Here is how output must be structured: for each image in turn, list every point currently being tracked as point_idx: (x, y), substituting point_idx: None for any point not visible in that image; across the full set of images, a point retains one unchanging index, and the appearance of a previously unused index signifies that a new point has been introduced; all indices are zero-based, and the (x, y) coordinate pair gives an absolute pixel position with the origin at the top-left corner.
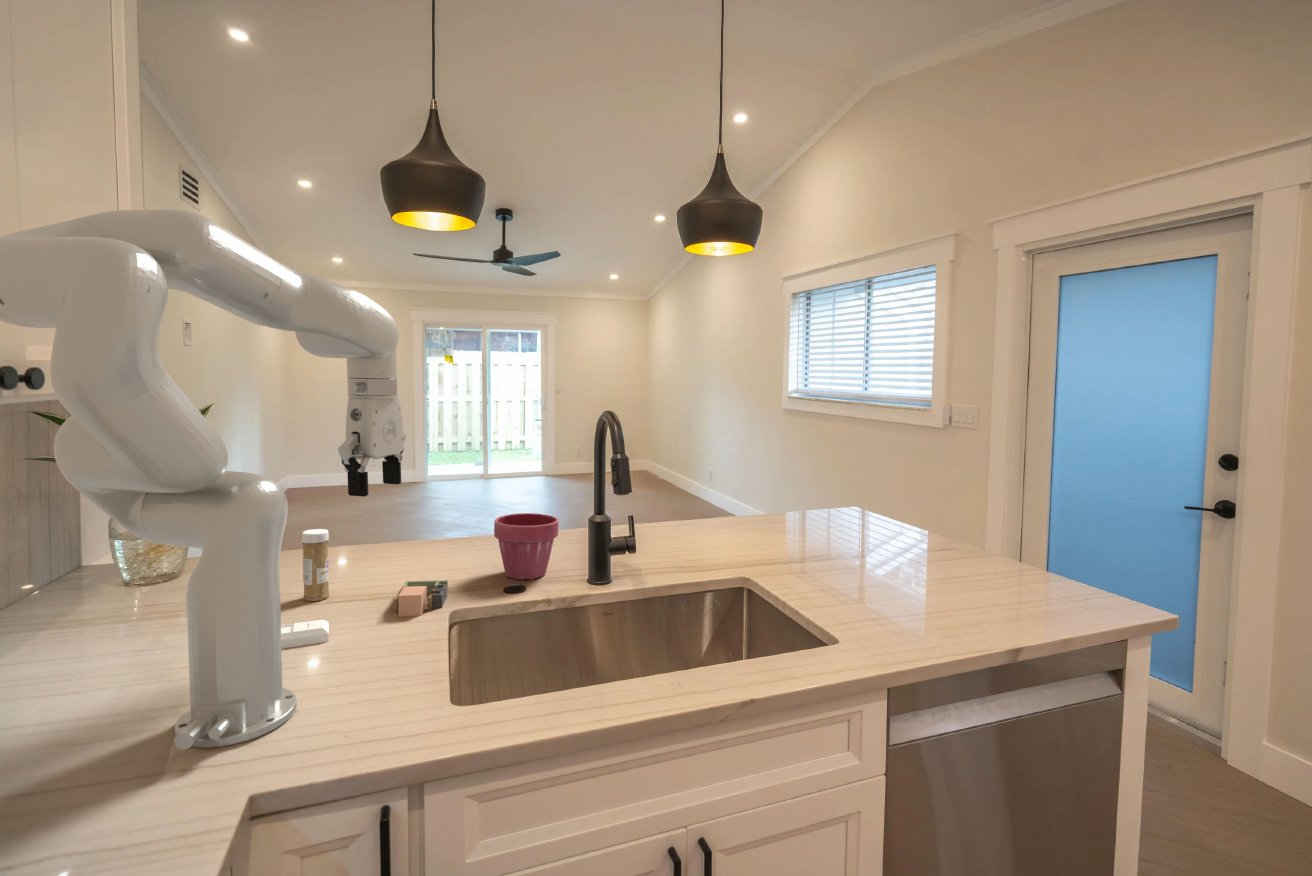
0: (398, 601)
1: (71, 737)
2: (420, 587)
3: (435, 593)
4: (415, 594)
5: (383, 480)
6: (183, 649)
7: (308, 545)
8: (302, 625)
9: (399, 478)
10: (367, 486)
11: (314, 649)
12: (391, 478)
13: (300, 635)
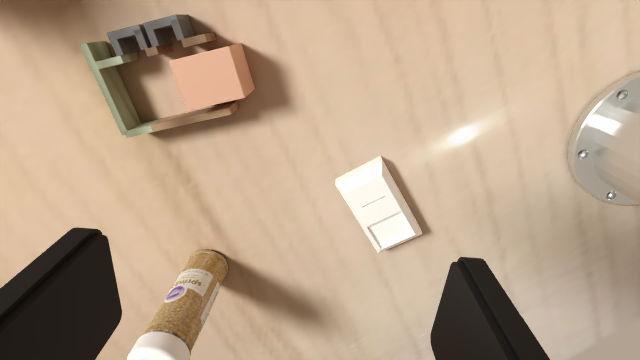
0: (219, 108)
1: (636, 283)
2: (182, 71)
3: (161, 42)
4: (228, 62)
5: (113, 327)
6: (414, 316)
7: (190, 347)
8: (373, 210)
9: (72, 249)
10: (493, 295)
11: (412, 161)
12: (93, 296)
13: (399, 196)
